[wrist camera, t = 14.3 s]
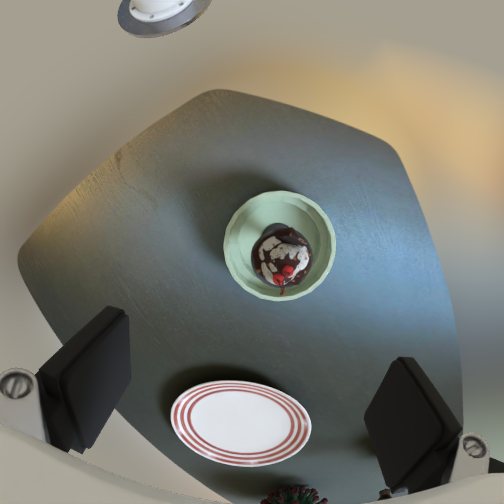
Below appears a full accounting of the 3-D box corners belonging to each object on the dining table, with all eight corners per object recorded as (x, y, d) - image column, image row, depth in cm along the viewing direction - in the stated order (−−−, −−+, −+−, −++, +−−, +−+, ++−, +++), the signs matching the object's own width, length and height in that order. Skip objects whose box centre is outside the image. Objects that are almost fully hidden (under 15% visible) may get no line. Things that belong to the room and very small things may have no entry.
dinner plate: (178, 447, 52) (174, 457, 49) (169, 359, 46) (164, 370, 43) (294, 459, 52) (295, 470, 49) (324, 376, 45) (327, 388, 42)
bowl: (238, 181, 39) (234, 180, 34) (337, 202, 39) (347, 205, 34) (221, 277, 42) (215, 289, 37) (314, 295, 42) (319, 309, 37)
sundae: (268, 271, 41) (269, 318, 26) (246, 230, 40) (234, 258, 25) (309, 250, 40) (333, 287, 25) (288, 208, 39) (302, 223, 24)
